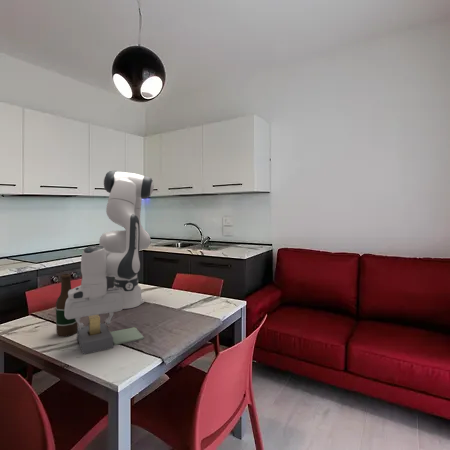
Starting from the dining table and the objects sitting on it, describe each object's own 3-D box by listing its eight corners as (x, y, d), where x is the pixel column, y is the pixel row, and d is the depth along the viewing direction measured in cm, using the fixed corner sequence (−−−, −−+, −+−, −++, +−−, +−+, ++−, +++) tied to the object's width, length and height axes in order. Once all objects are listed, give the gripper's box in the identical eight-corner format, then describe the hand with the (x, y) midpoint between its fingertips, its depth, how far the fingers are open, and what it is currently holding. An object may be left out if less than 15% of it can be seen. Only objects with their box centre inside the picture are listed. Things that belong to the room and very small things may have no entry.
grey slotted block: (77, 337, 122) (77, 327, 122) (104, 332, 128) (104, 323, 127) (83, 354, 109) (82, 343, 109) (113, 347, 114) (112, 337, 114)
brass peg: (88, 342, 119) (88, 316, 118) (98, 340, 121) (98, 314, 120) (90, 345, 116) (89, 318, 115) (100, 343, 118) (100, 317, 117)
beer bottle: (63, 338, 121) (61, 277, 120) (52, 334, 126) (50, 275, 124) (81, 332, 128) (80, 273, 127) (70, 328, 132) (69, 271, 131)
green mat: (107, 333, 126) (107, 332, 126) (135, 328, 132) (135, 327, 132) (114, 345, 116) (114, 343, 116) (143, 338, 122) (143, 337, 122)
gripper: (120, 284, 125) (121, 318, 126) (63, 291, 114) (64, 328, 115) (124, 287, 120) (125, 323, 121) (65, 295, 109) (65, 334, 110)
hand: (94, 326), depth 118 cm, fingers open, 8 cm apart
